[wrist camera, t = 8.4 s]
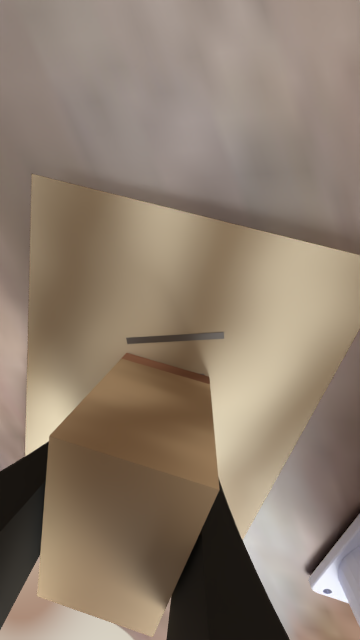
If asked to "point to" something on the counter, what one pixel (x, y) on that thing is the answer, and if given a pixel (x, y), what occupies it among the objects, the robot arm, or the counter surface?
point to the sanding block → (128, 492)
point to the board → (186, 320)
